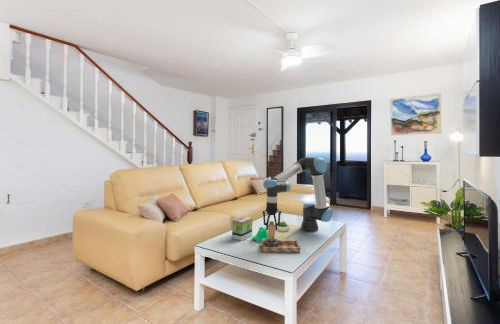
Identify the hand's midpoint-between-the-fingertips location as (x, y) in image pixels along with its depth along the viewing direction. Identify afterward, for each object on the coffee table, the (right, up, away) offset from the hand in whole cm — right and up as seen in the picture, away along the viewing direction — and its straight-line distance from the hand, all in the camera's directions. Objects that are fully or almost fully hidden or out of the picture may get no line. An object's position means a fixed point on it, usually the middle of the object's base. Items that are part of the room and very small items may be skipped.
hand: (271, 234), depth 184 cm
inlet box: (+6, -10, +1) cm, 12 cm away
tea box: (-21, -9, +24) cm, 33 cm away
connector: (0, -4, 0) cm, 4 cm away
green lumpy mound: (-7, -10, +17) cm, 21 cm away
